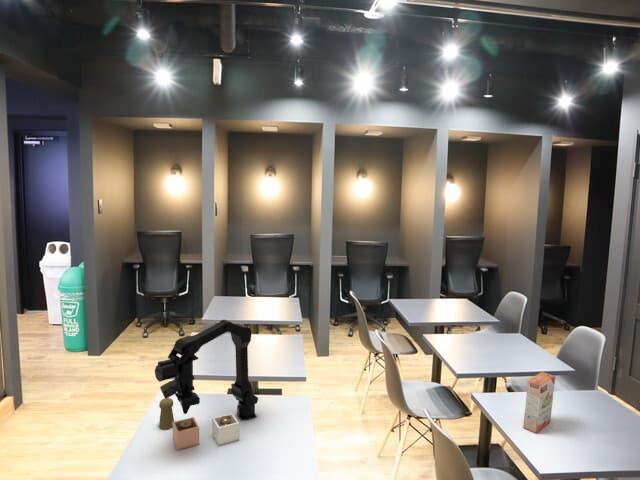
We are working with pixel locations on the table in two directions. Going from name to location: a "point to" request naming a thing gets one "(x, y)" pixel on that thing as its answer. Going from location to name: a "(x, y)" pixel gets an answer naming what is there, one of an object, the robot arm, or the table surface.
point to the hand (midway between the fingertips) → (185, 413)
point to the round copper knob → (225, 420)
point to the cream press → (225, 430)
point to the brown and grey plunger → (185, 424)
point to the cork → (166, 414)
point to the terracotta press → (185, 434)
